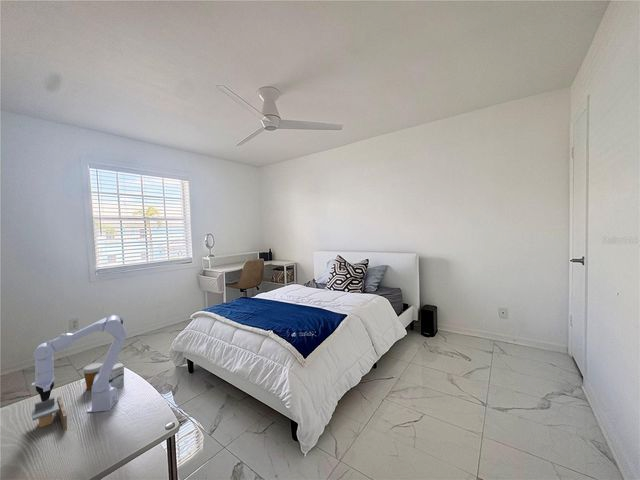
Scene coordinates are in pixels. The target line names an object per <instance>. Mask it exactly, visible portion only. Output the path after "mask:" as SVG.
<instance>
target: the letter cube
mask: <svg viewBox="0 0 640 480" xmlns="http://www.w3.org/2000/svg"><path fill="white" fill-rule="evenodd" d="M53 414H54V413H53ZM53 414H50V415H47V416H45V417H42V418H39V419H38V427H39V428H42V427H45V426H47V425H51V424H53V421H54V420H53Z"/></svg>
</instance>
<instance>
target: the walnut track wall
mask: <svg viewBox="0 0 640 480" xmlns="http://www.w3.org/2000/svg"><path fill="white" fill-rule="evenodd" d="M56 401H57V403H58V406H59V411H58V416H59V419H60V422H61V426H62V429H63V431H65V430H68V415H67V412H66V409H65V406H64V403H63V401H62V397H61V396H60V395H59V396H57V400H56Z"/></svg>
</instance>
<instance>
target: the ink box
mask: <svg viewBox="0 0 640 480" xmlns="http://www.w3.org/2000/svg"><path fill="white" fill-rule="evenodd" d="M109 383H110V384H111V386H112V387H116V388H117V389H118V388H121V387H124V385H125V365H124V364H123V363H122V362H119V363H115V364H114V366H113V369H112V371H111V374H110V378H109Z"/></svg>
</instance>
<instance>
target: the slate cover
mask: <svg viewBox="0 0 640 480" xmlns="http://www.w3.org/2000/svg"><path fill="white" fill-rule="evenodd" d="M58 411H59V406H58V403H57V400H56V401H55V396H52V397H50V398H49V400H47V401H44V402H42V401H40V400H39V401H36V402H35V403H34V409H31V416H32V421H36V420H39V418H42V417H45V416H47V415H50V414H55V413H57V412H58Z"/></svg>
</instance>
